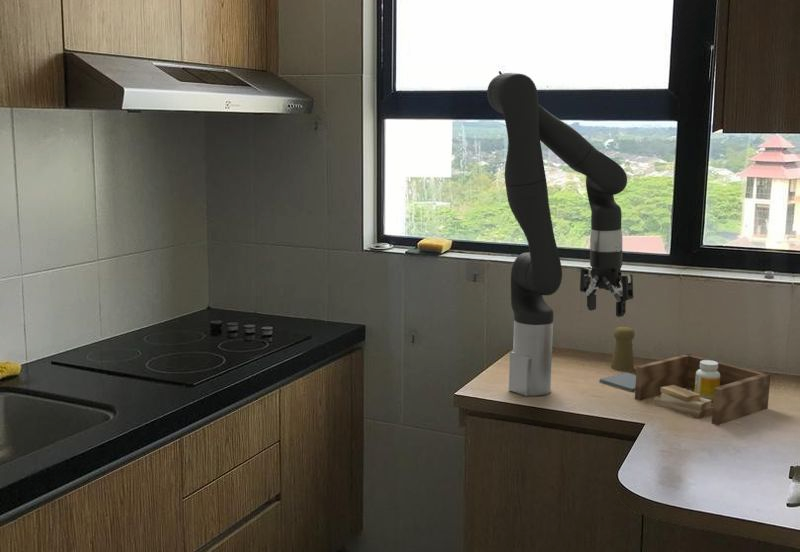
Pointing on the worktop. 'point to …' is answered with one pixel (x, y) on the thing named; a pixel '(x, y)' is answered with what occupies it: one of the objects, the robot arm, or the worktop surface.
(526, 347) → the robot arm
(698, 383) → the supplement bottle
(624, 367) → the cork
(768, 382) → the walnut open frame
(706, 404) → the offcut stack
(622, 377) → the slate mat
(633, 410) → the worktop surface
